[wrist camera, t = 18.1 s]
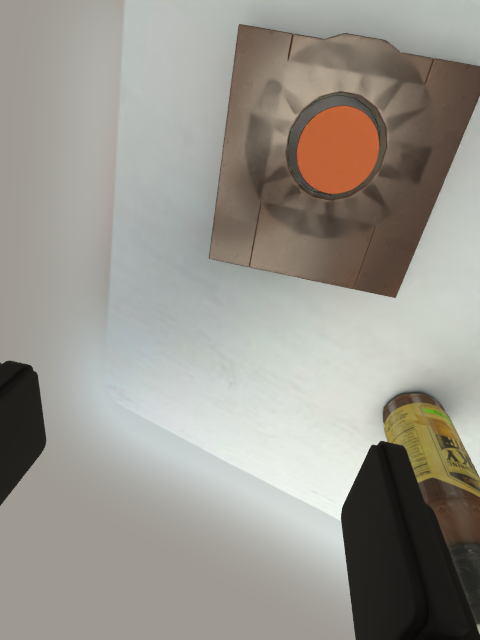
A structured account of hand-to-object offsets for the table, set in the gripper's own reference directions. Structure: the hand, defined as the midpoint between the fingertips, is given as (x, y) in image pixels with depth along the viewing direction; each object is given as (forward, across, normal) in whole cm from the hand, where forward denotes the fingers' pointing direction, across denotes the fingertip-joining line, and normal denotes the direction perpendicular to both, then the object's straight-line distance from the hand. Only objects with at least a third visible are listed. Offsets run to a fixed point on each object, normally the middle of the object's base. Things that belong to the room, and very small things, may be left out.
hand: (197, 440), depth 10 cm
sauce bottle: (+25, -19, +16) cm, 35 cm away
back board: (+24, -4, -5) cm, 25 cm away
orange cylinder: (+24, -4, -7) cm, 26 cm away
